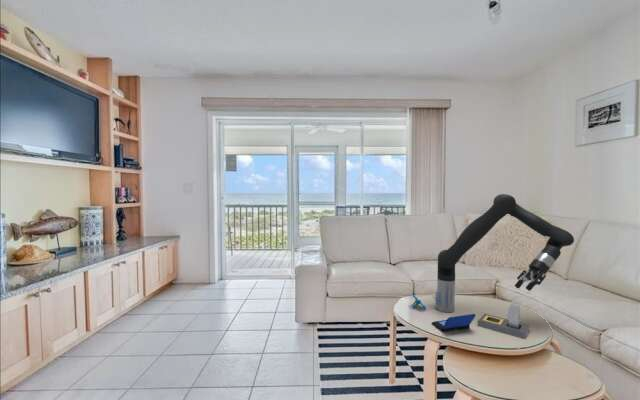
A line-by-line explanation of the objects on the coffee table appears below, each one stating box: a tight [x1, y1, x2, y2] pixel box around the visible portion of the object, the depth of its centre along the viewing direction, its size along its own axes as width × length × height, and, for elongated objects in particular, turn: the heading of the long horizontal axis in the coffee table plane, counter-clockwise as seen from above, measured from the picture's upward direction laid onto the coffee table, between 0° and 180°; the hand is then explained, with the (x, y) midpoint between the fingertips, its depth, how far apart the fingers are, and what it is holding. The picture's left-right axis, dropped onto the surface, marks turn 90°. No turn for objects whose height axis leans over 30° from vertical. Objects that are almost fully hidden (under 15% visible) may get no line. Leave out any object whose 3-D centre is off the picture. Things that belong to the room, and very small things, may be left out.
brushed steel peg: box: [508, 303, 521, 329], centre depth 150 cm, size 4×4×12 cm
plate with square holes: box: [477, 313, 531, 340], centre depth 154 cm, size 20×12×3 cm, turn 48°
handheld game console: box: [431, 313, 476, 333], centre depth 153 cm, size 16×13×9 cm
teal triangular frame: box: [412, 294, 427, 310], centre depth 178 cm, size 11×6×10 cm
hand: (521, 288), depth 153 cm, fingers open, 8 cm apart
